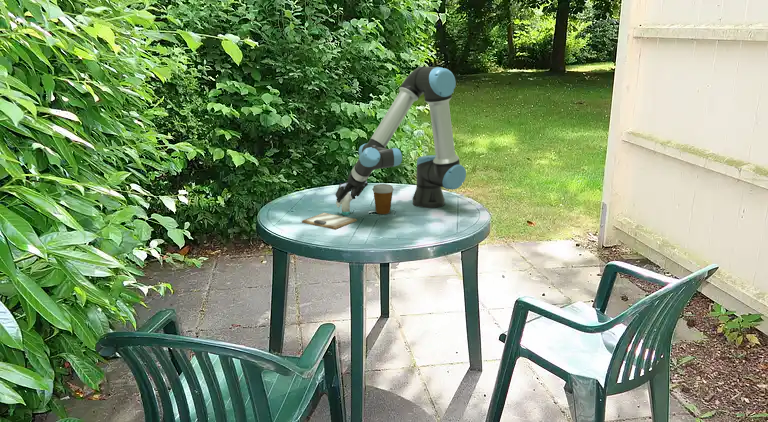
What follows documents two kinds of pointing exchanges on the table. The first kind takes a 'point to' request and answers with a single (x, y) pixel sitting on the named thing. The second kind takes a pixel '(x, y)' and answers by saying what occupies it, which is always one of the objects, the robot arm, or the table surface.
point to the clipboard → (329, 221)
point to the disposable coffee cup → (383, 198)
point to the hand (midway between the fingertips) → (341, 204)
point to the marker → (346, 205)
